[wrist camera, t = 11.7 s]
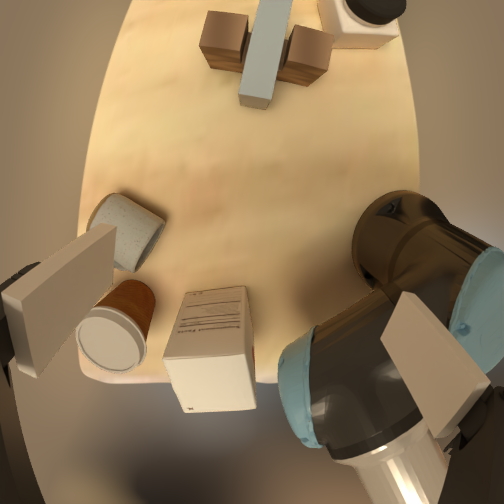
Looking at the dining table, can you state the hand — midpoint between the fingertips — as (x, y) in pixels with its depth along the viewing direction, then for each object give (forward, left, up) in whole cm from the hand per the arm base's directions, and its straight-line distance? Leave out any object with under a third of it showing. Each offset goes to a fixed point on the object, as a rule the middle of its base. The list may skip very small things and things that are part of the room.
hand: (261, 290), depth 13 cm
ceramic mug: (+15, +9, -27) cm, 32 cm away
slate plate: (+2, -16, -27) cm, 31 cm away
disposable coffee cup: (+14, +19, -27) cm, 36 cm away
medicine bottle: (-8, -25, -27) cm, 37 cm away
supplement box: (+1, +19, -27) cm, 33 cm away
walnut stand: (+2, -16, -27) cm, 31 cm away
